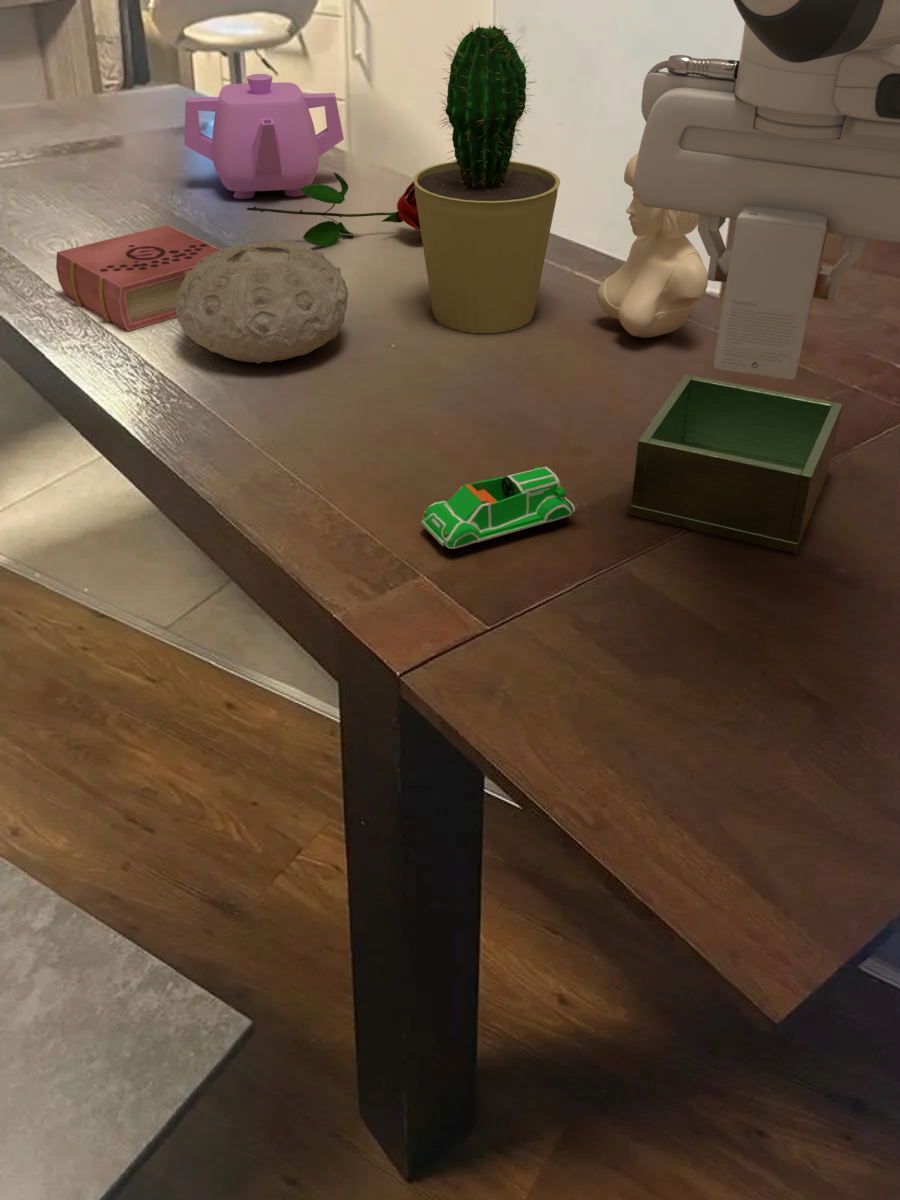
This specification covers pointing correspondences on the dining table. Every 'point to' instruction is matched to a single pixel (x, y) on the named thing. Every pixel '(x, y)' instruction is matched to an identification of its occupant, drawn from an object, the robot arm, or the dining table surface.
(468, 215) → the potted cactus
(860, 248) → the robot arm
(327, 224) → the flower
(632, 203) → the figurine
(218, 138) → the teapot
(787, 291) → the small box
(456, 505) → the toy car
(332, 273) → the decorative shell
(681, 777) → the dining table surface
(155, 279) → the book
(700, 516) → the open box
